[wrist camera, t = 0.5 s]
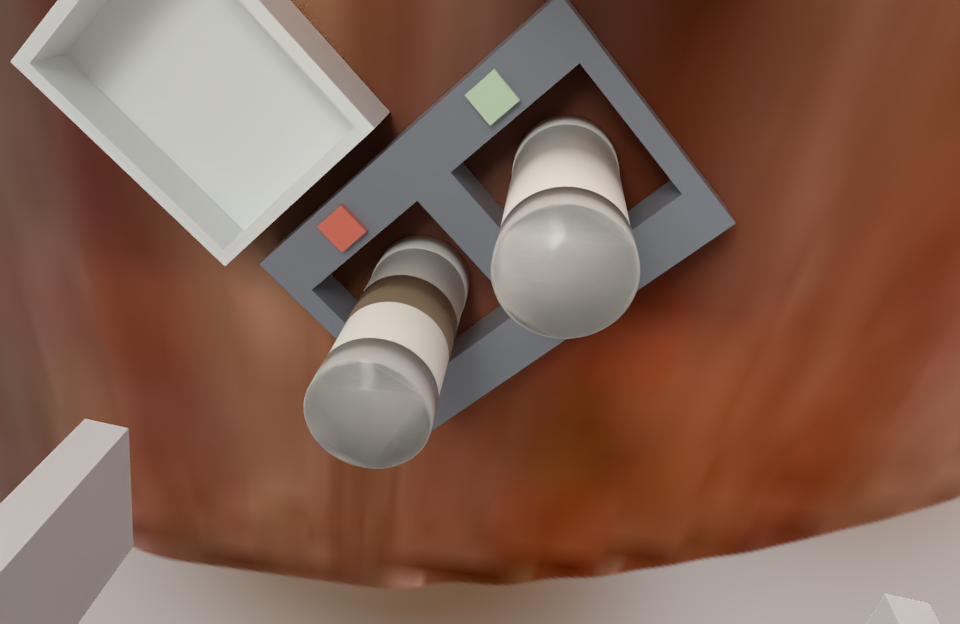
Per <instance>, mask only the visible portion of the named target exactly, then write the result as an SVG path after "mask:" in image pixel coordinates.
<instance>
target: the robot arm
mask: <svg viewBox="0 0 960 624" xmlns="http://www.w3.org/2000/svg"><path fill="white" fill-rule="evenodd" d="M132 547H133V527H132V501H131V475H130V449H129V428H125V427H121V426H116V425H112V424H107V423H102V422H98V421H93V420H89V419H84V420H83V421H82V422H81V423H80V424H79V425H78V426H77V427H76V428H75V429H74V430H73V431H72V432H71V433H70V434H69V435H68V436H67V437H66V438H65V439H64V440H63V441H62V442H61V443H60V444H59V445H58V446H57V447H56V448H55V449H54V450H53V451H52V452H51V453H50V454H49V455H48V456H47V457H46V458H45V459H44V460H43V461H42V462H41V463H40V464H39V465H38V466H37V467H36V468H35V469H34V470H33V471H32V472H31V473H30V474H29V475H28V476H27V477H26V478H25V479H24V480H23V481H22V482H21V483H20V484H19V485H18V486H17V487H16V488H15V489H14V490H13V491H12V492H11V493H10V494H9V495H8V496H7V497H6V498H5V499H4V500H3V501H2V502H1V504H0V624H78V622H79V621H80V620H81V618H82V617H83V615H84V614H85V613H86V611H87V610H88V608H89V607H90V606H91V604H92V603H93V601H94V600H95V598H96V597H97V596H98V594H99V593H100V592H101V590H102V589H103V587H104V586H105V585H106V583H107V581H108V580H109V579H110V578H111V576H112V575H113V573H114V572H115V571H116V569H117V568H118V566H119V565H120V564H121V562H122V560H123V559H124V558H125V557H126V555H127V554H128V552H129V551H130V550H131V548H132ZM866 624H940V623H939V621H938V619H937V618H936V616H935V614H934V612H933V610H932V608H931V606H930V604H929V603H927V602H922V601H918V600H913V599H908V598H904V597H899V596H894V595H890V594H886V593H884V595H883V596H882V598H881V599H880V601H879V602H878V604H877V606H876V608H875V609H874V611H873V612H872V614H871V616H870V617H869V619H868V620H867V622H866Z"/></svg>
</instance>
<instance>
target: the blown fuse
mask: <svg viewBox="0 0 960 624" xmlns="http://www.w3.org/2000/svg"><path fill="white" fill-rule="evenodd" d="M469 287H470V275H469V270H468V267H467V265H466V262H465V261H464V259H463V257H462V256H461V255H460V253H459V252H458V251H457V250H456V249H455V248H454V247H453V246H451V245H450V244H449V243H447V242H445V241H444V240H441V239H439V238H436V237H433V236H428V235H411V236H407V237H404V238H401V239H399V240H397V241H396V242H394V243H393V244H391V245H390V246H389V247H388V248H387V249H386V250H385V252H384V253H383V255H382V257H381V258H380V260H379V262H378V264H377V266H376V267H375V269H374V271H373V273H372V276H371V278H370V280H369V282H368V284H367V286H366V287H365V289H364V291H363V293H362V294H361V296H360V297H359V299H358V301H357V303H356V304H355V306H354V308H353V310H352V312H351V313H350V315H349V317H348V319H347V321H346V322H345V324H344V326H343V328H342V331H341V332H340V334H339V336H338V338H337V340H336V341H335V343H334V345H333V347H332V348H331V350H330V352H329V354H328V355H327V356H326V358H325V359H324V360H323V362H322V364H321V365H320V367H319V369H318V371H317V373H316V374H315V376H314V378H313V380H312V382H311V383H310V385H309V387H308V389H307V391H306V394H305V398H304V416H305V420H306V423H307V426H308V428H309V430H310V432H311V434H312V435H313V437H314V438H315V439H316V441H317V442H318V443H319V444H320V445H321V446H322V447H323V448H324V449H325V450H326V451H328V452H329V453H330V454H332V455H333V456H335V457H336V458H338V459H340V460H342V461H344V462H346V463H349V464H352V465H355V466H359V467H364V468H373V469H380V468H389V467H394V466H397V465H400V464H403V463H405V462H407V461H409V460H410V459H412V458H413V457H415V456H416V455H417V454H418V453H419V452H420V451H421V450H422V449H423V447H424V446H425V445H426V443H427V441H428V439H429V436H430V433H431V429H432V426H433V422H434V418H435V414H436V411H437V407H438V400H439V395H440V391H441V387H442V384H443V380H444V376H445V372H446V370H447V367H448V363H449V360H450V356H451V352H452V348H453V345H454V341H455V337H456V334H457V328H458V325H459V321H460V317H461V314H462V311H463V309H464V306H465V303H466V299H467V295H468V292H469Z"/></svg>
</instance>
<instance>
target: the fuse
mask: <svg viewBox="0 0 960 624" xmlns="http://www.w3.org/2000/svg"><path fill="white" fill-rule="evenodd" d="M639 280H640V261H639V256H638V251H637V246H636V242H635V237H634V234H633V231H632V228H631V226H630V221H629V217H628V212H627V207H626V203H625V198H624V193H623V188H622V184H621V179H620V173H619V164H618V159H617V155H616V151H615V148H614V145H613V143H612V141H611V139H610V138H609V136H608V135H607V133H606V132H605V131H604V130H603V129H602V128H601V127H600V126H598V125H597V124H596V123H594V122H592V121H591V120H588V119H586V118H583V117H580V116H575V115H558V116H554V117H550V118H547V119H545V120H543V121H541V122H539V123H537V124H536V125H535V126H533V127H532V128H531V129H530V130H529V131H528V132H527V133H526V134H525V136H524V137H523V138H522V140H521V142H520V143H519V146H518V148H517V151H516V154H515V158H514V162H513V167H512V177H511V181H510V186H509V190H508V195H507V199H506V204H505V208H504V213H503V218H502V222H501V227H500V229H499V232H498V235H497V238H496V242H495V247H494V251H493V256H492V261H491V281H492V286H493V289H494V293H495V295H496V297H497V300H498V301H499V303H500V305H501V306H502V308H503V309H504V310H505V312H506V313H507V314H508V315H509V316H510V317H511V318H512V319H513V320H514V321H515V322H517V323H518V324H519V325H521V326H522V327H524V328H526V329H527V330H529V331H531V332H534V333H536V334H539V335H542V336H546V337H551V338H558V339H571V338H579V337H585V336H588V335H591V334H594V333H596V332H599V331H601V330H603V329H605V328H606V327H608V326H610V325H611V324H612V323H614V322H615V321H616V320H617V319H618V318H619V317H620V316H621V315H622V314H623V313H624V312H625V311H626V310H627V308H628V307H629V306H630V304H631V302H632V300H633V299H634V296H635V294H636V292H637V289H638V285H639Z"/></svg>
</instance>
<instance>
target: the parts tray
mask: <svg viewBox="0 0 960 624" xmlns="http://www.w3.org/2000/svg"><path fill="white" fill-rule="evenodd" d="M10 62H11V63H12V64H13V65H14V66H15V67H16V68H17V69H18V70H19V71H20V72H22V73H23V74H24V75H25V76H26V77H27V78H28V79H29V80H30V81H31V82H32V83H33V84H34V85H35V86H36V87H37V88H38V89H39V90H40V91H41V92H42V93H44V94H45V95H46V96H47V97H48V98H49V99H50V100H51V101H52V102H53V103H54V104H55V105H56V106H57V107H58V108H59V109H60V110H61V111H62V112H63V113H65V114H66V115H67V116H68V117H69V118H70V119H71V120H72V121H73V122H74V123H75V124H76V125H77V126H78V127H79V128H80V129H81V130H82V131H83V132H84V133H85V134H87V135H88V136H89V137H90V138H91V139H92V140H93V141H94V142H95V143H96V144H97V145H98V146H99V147H100V148H101V149H102V150H103V151H104V152H105V153H106V154H107V155H109V156H110V157H111V158H112V159H113V160H114V161H115V162H116V163H117V164H118V165H119V166H120V167H121V168H122V169H123V170H124V171H125V172H126V173H127V174H128V175H130V176H131V177H132V178H133V179H134V180H135V181H136V182H137V183H138V184H139V185H140V186H141V187H142V188H143V189H144V190H145V191H146V192H147V193H148V194H149V195H150V196H152V197H153V198H154V199H155V200H156V201H157V202H158V203H159V204H160V205H161V206H162V207H163V208H164V209H165V210H166V211H167V212H168V213H169V214H170V215H171V216H172V217H174V218H175V219H176V220H177V221H178V222H179V223H180V224H181V225H182V226H183V227H184V228H185V229H186V230H187V231H188V232H189V233H190V234H191V235H192V236H193V237H194V238H196V239H197V240H198V241H199V242H200V243H201V244H202V245H203V246H204V247H205V248H206V249H207V250H208V251H209V252H210V253H211V254H212V255H213V256H214V257H215V258H217V259H218V260H219V261H220V262H221V263H222V264H223V265H224V266H226V265H227V264H228V263H229V262H230V261H231V260H233V259H234V258H235V257H236V256H237V255H238V254H239V253H240V252H241V251H242V250H243V249H244V248H246V247H247V246H248V245H249V244H250V243H251V242H252V241H253V240H254V239H255V238H256V237H257V236H259V235H260V234H261V233H262V232H263V231H264V230H265V229H266V228H267V227H268V226H269V225H270V224H272V223H273V222H274V221H275V220H276V219H277V218H278V217H279V216H280V215H281V214H282V213H283V212H285V211H286V210H287V209H288V208H289V207H290V206H291V205H292V204H293V203H294V202H295V201H296V200H298V199H299V198H300V197H301V196H302V195H303V194H304V193H305V192H306V191H307V190H308V189H310V188H311V187H312V186H313V185H314V184H315V183H316V182H317V181H318V180H319V179H320V178H321V177H323V176H324V175H325V174H326V173H327V172H328V171H329V170H330V169H331V168H332V167H333V166H334V165H336V164H337V163H338V162H339V161H340V160H341V159H342V158H343V157H344V156H345V155H346V154H347V153H349V152H350V151H351V150H352V149H353V148H354V147H355V146H356V145H357V144H358V143H359V142H360V141H362V140H363V139H364V138H365V137H366V136H367V135H368V134H369V133H370V132H371V131H372V130H374V129H375V128H376V127H377V125H378V124H379V123H380V122H381V121H382V120H383V119H384V118H385V117H386V116H387V115H388V114H389V113H390V111H389V110H388V109H387V108H386V107H385V106H384V105H383V104H382V102H381V101H380V100H379V99H378V98H377V97H376V96H375V95H374V93H373V92H372V91H371V90H370V89H369V88H368V87H367V86H366V84H365V83H364V82H363V81H362V80H361V79H360V78H359V77H358V75H357V74H356V73H355V72H354V71H353V70H352V69H351V68H350V66H349V65H348V64H347V63H346V62H345V61H344V60H343V59H342V57H341V56H340V55H339V54H338V53H337V52H336V51H335V50H334V48H333V47H332V46H331V45H330V44H329V43H328V42H327V41H326V40H325V38H324V37H323V36H322V35H321V34H320V33H319V32H318V31H317V29H316V28H315V27H314V26H313V25H312V24H311V23H310V22H309V20H308V19H307V18H306V17H305V16H304V15H303V14H302V13H301V11H300V10H299V9H298V8H297V7H296V6H295V5H294V4H293V2H292V1H291V0H57V2H56V3H55V4H54V5H53V7H52V8H51V9H50V11H49V12H48V13H47V15H46V16H45V17H44V18H43V20H42V21H41V22H40V24H39V25H38V26H37V28H36V29H35V30H34V31H33V33H32V34H31V35H30V37H29V38H28V39H27V41H26V42H25V43H24V44H23V46H22V47H21V48H20V50H19V51H18V52H17V54H16V55H15V56H14V57H13V59H12V60H11V61H10Z"/></svg>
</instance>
